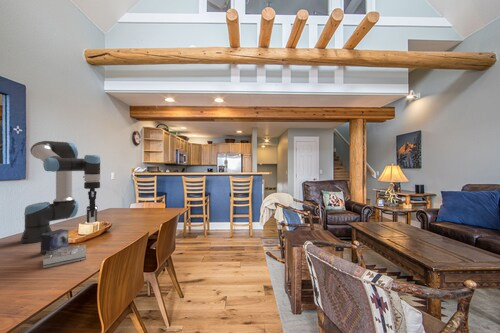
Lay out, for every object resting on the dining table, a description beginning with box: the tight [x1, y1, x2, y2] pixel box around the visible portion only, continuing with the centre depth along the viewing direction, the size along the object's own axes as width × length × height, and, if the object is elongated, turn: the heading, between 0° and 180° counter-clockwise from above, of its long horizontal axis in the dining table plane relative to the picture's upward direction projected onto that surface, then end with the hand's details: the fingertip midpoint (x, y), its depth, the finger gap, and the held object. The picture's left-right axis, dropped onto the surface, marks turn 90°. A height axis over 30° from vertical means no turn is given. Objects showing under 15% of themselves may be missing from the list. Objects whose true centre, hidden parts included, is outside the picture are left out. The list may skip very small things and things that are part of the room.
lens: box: [86, 205, 98, 224], centre depth 126 cm, size 5×5×9 cm
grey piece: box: [42, 244, 87, 269], centre depth 111 cm, size 12×16×5 cm
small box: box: [39, 228, 69, 254], centre depth 123 cm, size 11×6×10 cm, turn 168°
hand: (92, 221), depth 126 cm, fingers closed on lens, 5 cm apart
